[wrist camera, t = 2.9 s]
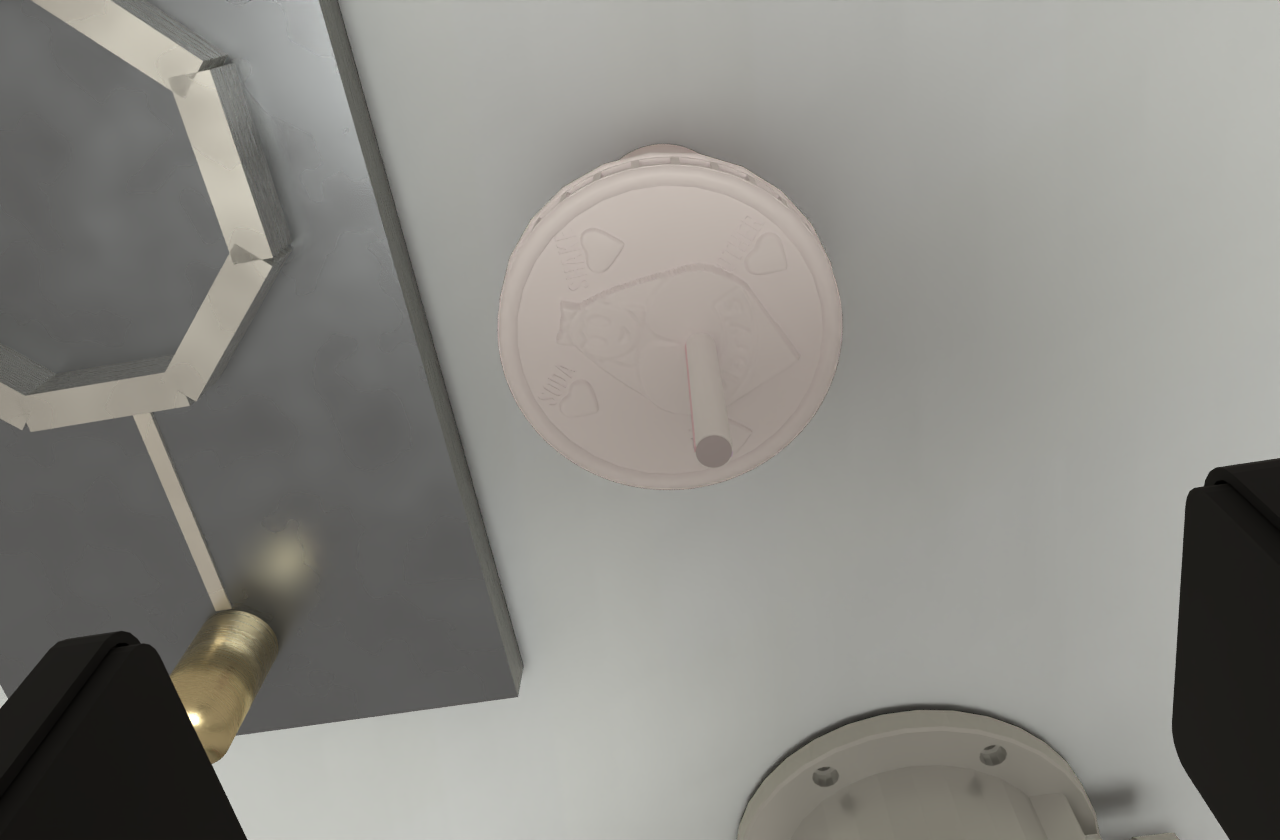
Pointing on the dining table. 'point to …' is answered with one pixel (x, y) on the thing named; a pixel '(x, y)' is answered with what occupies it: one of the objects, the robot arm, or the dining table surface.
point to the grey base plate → (225, 375)
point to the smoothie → (669, 320)
